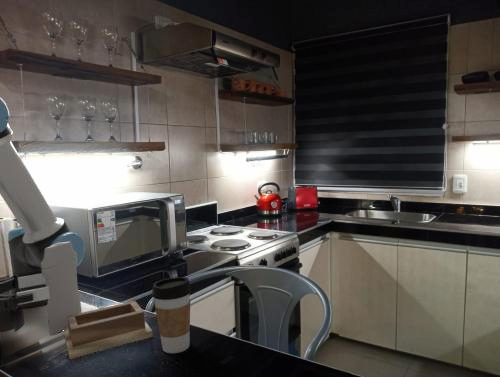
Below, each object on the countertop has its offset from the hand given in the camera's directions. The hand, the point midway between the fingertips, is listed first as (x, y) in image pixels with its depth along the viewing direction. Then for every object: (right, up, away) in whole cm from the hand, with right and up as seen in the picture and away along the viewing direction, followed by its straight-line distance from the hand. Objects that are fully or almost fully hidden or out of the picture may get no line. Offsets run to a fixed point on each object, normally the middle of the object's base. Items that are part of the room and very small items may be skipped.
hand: (48, 284), depth 101 cm
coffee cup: (+34, -11, -11) cm, 37 cm away
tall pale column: (+3, -12, +3) cm, 13 cm away
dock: (+16, -11, -4) cm, 20 cm away
